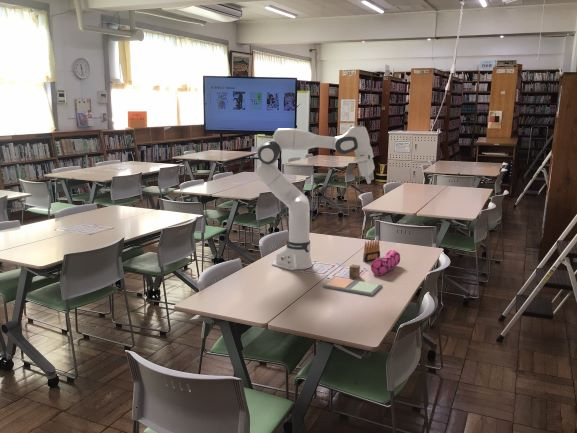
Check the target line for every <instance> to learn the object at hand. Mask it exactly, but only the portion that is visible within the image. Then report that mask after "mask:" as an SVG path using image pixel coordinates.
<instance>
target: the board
mask: <svg viewBox="0 0 577 433" xmlns="http://www.w3.org/2000/svg"><path fill="white" fill-rule="evenodd" d="M322 288H324V289H330V290H333V291H334V290H335V291H341V292H346V293H352V294H357V295H363V296H367V297H368V296H369V297H373V296H374V295H375V294H376V293H377V292H379V291H380V289H381V288H383V285H382V284H379V283H373V282H368V281H367V282H366V281H362V280H357V279H351V278H343V277H338V276H337V277H336V276H334V277H333V278H331V279H330V280H328V281H326V283H324V284H323V285H322Z"/></svg>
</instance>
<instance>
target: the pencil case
mask: <svg viewBox="0 0 577 433" xmlns="http://www.w3.org/2000/svg"><path fill="white" fill-rule="evenodd" d="M400 261H401V255H400V253H399V252H398V251H397V250H395V249H394V250H389V251H387V252H386V254H385V255H384V256H382V257H381V256H380V257H379V258H377V259H375V260H374V261H371V265H370V270H371V273H373V274H374V275H376V276H384V275H385V274H387V273H388V272H390V271H392V270H393V269H394V268H395V267H396V266H398V265H399V264H400Z"/></svg>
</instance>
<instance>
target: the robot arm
mask: <svg viewBox="0 0 577 433" xmlns="http://www.w3.org/2000/svg"><path fill="white" fill-rule="evenodd" d="M370 141H371V139H370V136H369V132H368V130H367V127H366V126H364V125H353V126H351V127H349V129H348V130H347V131H346V132H345V133H344V134H340V135H337V136H329V135H328V136H327V135H319V134H316V133H313V132H310V131H307V130H305V129H300V128H293V127H292V128H291V127H290V128H284V127H283V128H277V129H276V130H275V131H274V133H273V137H272V140H267V141H265V142H262V144H260V146H259V147H258V150H257V157H258V160H260V163H259V164H258V166H257V168H256V171H255V174H256V175H257V177H258V178H259V180H260V181H261V183H262V184H263V185H264V186H265V187H266V188H267V189H268V191H270V193H272V194H273V195H274V196H275V198H277V199H278V200H279V201H280V202H282V203H283V204H284V205H285V206H286V207H287V208H288V237H289V238H288V240H287V241H286V242H284V243H285V244H284V245H286V246H285V247H284V248H282V249H281V250H279V251H278V253H277V254H276V257H275V258H276V259H274V260H273V261H272V264H271V265H272V266H275V267H278V268H282V269H285V270H290V271H296V270H305V269H306V270H307V269H310V268H312V266H313V262H312V259H311V258H312V257H311V240H310V214H311V212H310V211H311V210H310V209H311V207H310V201H309V198H308V197H307V196H306V195H305V194H304V193H303V192H302V191H301V190H300V189H298V187H296V185H294V184H293V183H292V182H291V181H290V180H289V179H288V177H286V176H285V175H284V174H283V172H282V171H280V170H279V168H278V167H277V166H276V162H277V160H278V159H279V157H280V153H281V152H282V151H283V150H289V151H307V150H310V149H314V148H322V149H330V150H331V149H332V150H335V151H336V152H337V153H338V154H340V155H344V156H345V155H348V154H351V153H353V152H354V154H355V162H356V164H357V166H358V170H359V173H360V175H361V177H362V178H364V179H365V180H366V183H367V185H370V184H372V181H373V180H374V178H375V177H374V170H375V167H376V166H375V164H374V159H373V158H374V157H375V156H374V152H373V147H372V146H371V142H370Z"/></svg>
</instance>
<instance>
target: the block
mask: <svg viewBox="0 0 577 433" xmlns="http://www.w3.org/2000/svg"><path fill="white" fill-rule="evenodd" d="M360 269H361V265H359V264H351V265H350V266H349V270H348V271H349V273H348V274H349V277H348V279H353V280H357V279H359V278H360V277H361V276H360V274H361V270H360Z"/></svg>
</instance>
